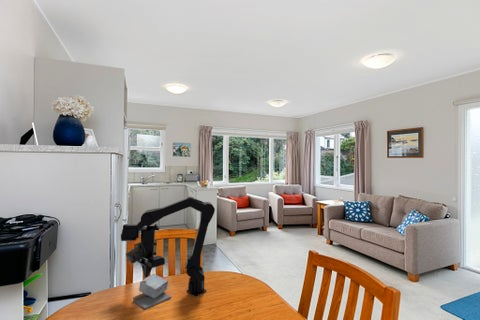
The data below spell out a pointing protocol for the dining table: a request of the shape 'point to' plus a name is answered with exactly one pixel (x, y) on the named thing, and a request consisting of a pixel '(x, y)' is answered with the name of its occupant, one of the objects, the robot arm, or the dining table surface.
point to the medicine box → (153, 286)
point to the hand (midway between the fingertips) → (146, 277)
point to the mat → (149, 300)
